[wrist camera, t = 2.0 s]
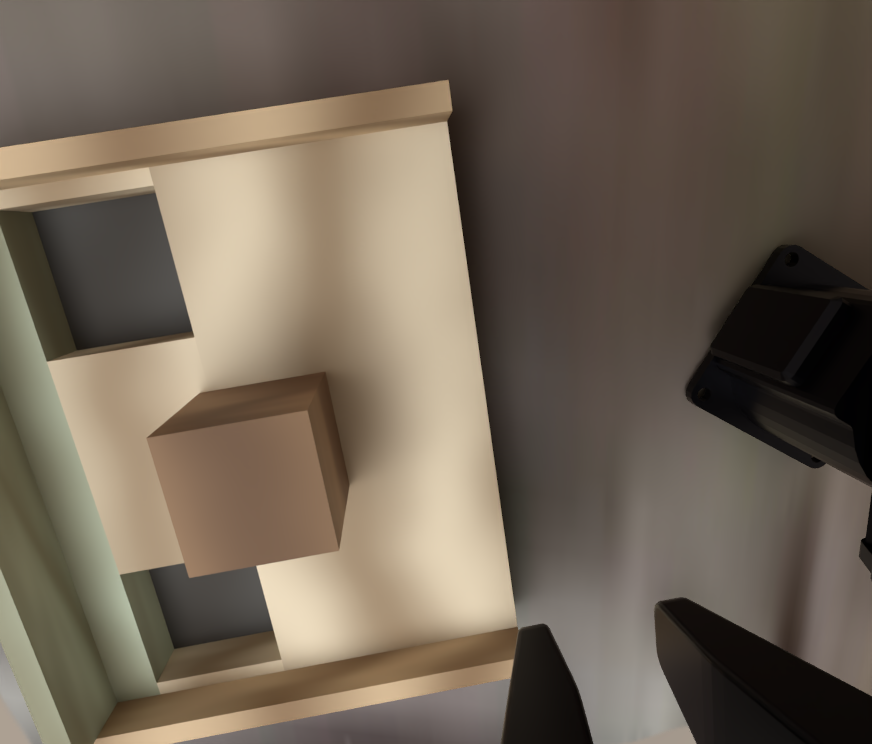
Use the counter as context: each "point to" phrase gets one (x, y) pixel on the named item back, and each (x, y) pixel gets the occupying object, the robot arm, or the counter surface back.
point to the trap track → (230, 367)
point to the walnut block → (253, 474)
